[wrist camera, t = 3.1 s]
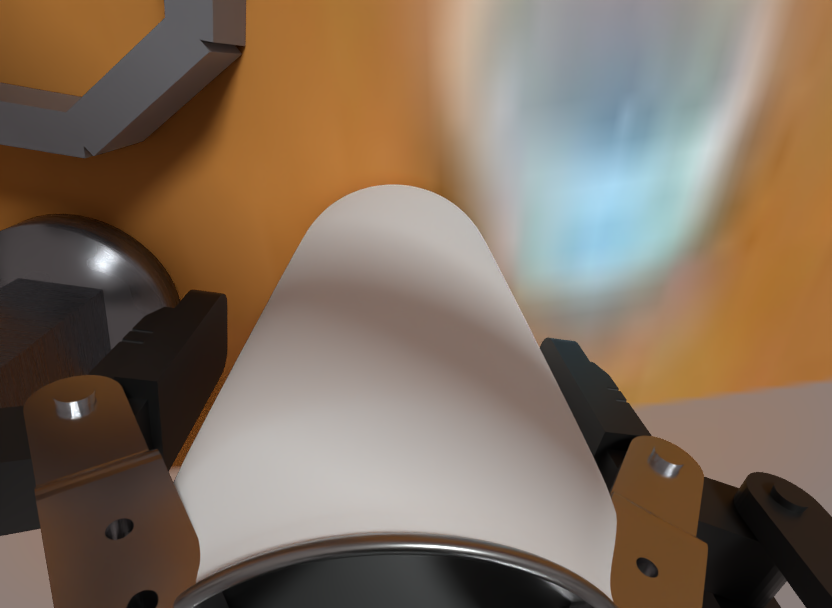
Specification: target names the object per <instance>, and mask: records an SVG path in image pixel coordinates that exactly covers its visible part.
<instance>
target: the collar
mask: <svg viewBox="0 0 832 608" xmlns="http://www.w3.org/2000/svg"><path fill="white" fill-rule="evenodd" d="M164 4H165V18H164V19H163V20H162V21H161V22H160V23H159V24H158V25H157V26H156V27H155V28H154V29H153V30H152V31H151V32H150V33H149V34H148V35H147V36H145V37H144V38H143V39H142V40H141V41H140V42H139V43H138V44H137V45H136V46H135V47H134V48H133V49H132V50H131V51H130V52H129V53H128V54H127V55H126V56H125V57H123V58H122V59H121V60H120V61H119V62H118V63H117V64H116V65H115V66H114V67H113V68H112V69H111V70H110V71H109V72H108V73H107V74H106V75H105V76H104V77H103V78H101V79H100V80H99V81H98V82H97V83H96V84H95V85H94V86H93V87H92V88H91V89H90V90H89V91H88V92H87V93H86V94H85V95H84V96H83V97H78V96H72V95H67V94H61V93H56V92H50V91H44V90H39V89H33V88H28V87H22V86H16V85H11V84H5V83H0V144H1V145H7V146H13V147H19V148H25V149H31V150H38V151H44V152H50V153H56V154H62V155H68V156H74V157H80V158H88V157H91V156H96V155H99V154H103V153H106V152H109V151H113V150H116V149H119V148H122V147H126V146H129V145H132V144H136V143H139V142H142V141H144V140H145V139H146V138H147V137H148V136H150V135H151V134H152V133H153V132H154V131H155V130H156V129H158V128H159V127H160V126H161V125H162V124H163V123H164V122H166V121H167V120H168V119H169V118H170V117H171V116H172V115H173V114H175V113H176V112H177V111H178V110H179V109H180V108H181V107H183V106H184V105H185V104H186V103H187V102H188V101H189V100H190V99H192V98H193V97H194V96H195V95H196V94H197V93H198V92H200V91H201V90H202V89H203V88H204V87H205V86H206V85H207V84H209V83H210V82H211V81H212V80H213V79H214V78H215V77H217V76H218V75H219V74H220V73H221V72H222V71H223V70H225V69H226V68H227V67H228V66H229V65H230V64H231V63H232V62H234V61H235V60H236V59H237V58H238V57H239V56H240V55H242V53H241V52H240V51H239V50H238V48H237V47H236V46H235V45H240V46H245V35H246V0H164Z"/></svg>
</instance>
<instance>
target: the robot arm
mask: <svg viewBox="0 0 832 608" xmlns="http://www.w3.org/2000/svg"><path fill="white" fill-rule="evenodd" d="M540 350H541V352H542V354H543V356H544V358H545V360H546V362H547V364H548V366H549V368H550V370H551V372H552V374H553V376H554V378H555V380H556V382H557V384H558V386H559V388H560V390H561V392H562V394H563V396H564V398H565V400H566V402H567V404H568V406H569V408H570V410H571V412H572V414H573V416H574V418H575V420H576V422H577V424H578V426H579V428H580V430H581V432H582V434H583V437H584V439H585V441H586V443H587V445H588V447H589V449H590V451H591V453H592V455H593V457H594V459H595V462H596V464H597V466H598V468H599V470H600V473H601V475H602V477H603V479H604V481H605V484H606V486H607V489H608V491H609V494H610V497H611V500H612V503H613V505H614V508H615V512H616V519H617V526H616V538H615V546H614V552H613V558H612V565H611V574H610V589H611V596H612V599H613V602H614V603H615V604H616V605H617V606H618V608H781V607H780V605H779V604H778V602H777V601H776V599H775V598H774V596H775V594H776V593H777V592H778V591H779V590H780V588H781V587H782V586H783V585H784V584H785V582H786V581H788V583H789V584H790V586H791V587H792V588H793V590H794V591H795V593H796V594H797V595H798V597H799V598H800V599H801V601H802V602H803V604H804V605H805V607H806V608H832V517H831V516H830V515H829V513H828V512H827V511H826V510H825V509H824V508H823V507H822V506H821V505H820V504H819V503H818V502H817V501H816V500H815V499H814V498H813V497H812V496H810V495H809V494H808V493H806V492H805V491H803V490H802V489H801V488H799V487H797V486H796V485H794V484H792V483H791V482H789V481H787V480H785V479H783V478H780V477H778V476H775V475H771V474H768V473H763V472H756V473H755V472H754V473H751V474H749V475H748V476H747V478H746V479H745V481H744V482H743V484H742V485H741V487H740V488H737V487H734V486H731V485H727V484H724V483H722V482H718V481H716V480H713V479H709V478H707V477H704V474H703V471H702V469H701V467H700V466H699V465H698V463H697V462H696V461H695V460H694V459H693V458H692V457H691V456H690V455H689V454H688V453H687V452H685V451H684V450H682V449H681V448H679V447H678V446H676V445H674V444H672V443H671V442H668V441H666V440H664V439H661V438H657V437H653V436H651V434H650V433H649V431H648V430H647V429H646V427H645V426H644V424H643V423H642V421H641V420H640V419H639V417H638V416H637V414H636V413H635V411H634V410H633V409H632V407H631V406H630V404H629V403H626V399H625V397H624V396H623V394H622V393H621V391H618V387H617V386H616V384H615V383H614V381H613V380H612V379H611V377H610V376H609V375H608V374H607V373H606V372H605V371H603V370H602V369H601V368H600V367H598V366H597V365H596V364H595V363H593V362H590V361H589V360H588V358H587V357H586V355H585V354H584V352H583V351H582V349H581V348H580V346H579V345H578V343H577V342H575V341H569V340H561V339H554V338H546V339H545V340H544V341H543V342H542V344H541V346H540ZM226 357H227V298H226V295H225V294H222V293H214V292H207V291H199V290H190V291H189V292H188V293H187V294H186V295H185V297H184V298H183V299H182V300H181V301H180V302H179V303H178V304H177V306H176V307H175V308H172V307H162V308H160V309H158V310H156V311H154V312H152V313H150V314H148V315H146V316H144V317H143V318H142V319H141V320H140V321H139V322H138V323H137V324H136V325H135V326H134V327H133V328H132V331H129V332H128V333H127V334H126V336H125V337H124V338H123V339H122V342H119V343H118V344H117V345H116V346H115V347H114V348H113V349H112V350H111V351H110V352H109V353H108V354H107V355H106V356H105V357H104V358H103V359H102V360H101V361H100V362H99V363H98V364H97V365H96V366H95V367H94V368H93V369H92V370H91V371H90V372H89V373H88V374H87V375H81V376H74V377H68V378H65V379H61V380H58V381H55V382H52V383H50V384H48V385H46V386H44V387H42V388H40V389H39V390H37V391H36V392H35V393H33V394H32V395H31V396H30V397H29V398H28V399H27V401H26V402H25V405H23V406H15V407H5V408H0V536H2V535H8V534H13V533H19V532H24V531H30V530H35V529H41V533H42V539H43V545H44V551H45V557H46V563H47V569H48V574H49V580H50V587H51V592H52V599H53V604H54V608H174V606H173V605H174V601H175V599H176V598H177V597H178V596H179V595H180V594H181V593H183V592H184V591H185V590H187V589H188V588H190V587H191V586H193V585H194V584H196V579H197V574H198V569H199V565H200V546H199V540H198V537H197V535H196V532H195V530H194V528H193V526H192V523H191V521H190V519H189V517H188V514H187V512H186V510H185V508H184V505H183V503H182V501H181V499H180V496H179V494H178V492H177V490H176V488H175V485H174V483H173V481H172V479H171V476H170V474H169V470H170V468H171V466H172V464H173V463H174V461H175V459H176V457H177V455H178V453H179V452H180V450H181V448H182V446H183V444H184V442H185V441H186V439H187V437H188V435H189V433H190V431H191V430H192V428H193V426H194V424H195V422H196V420H197V419H198V417H199V415H200V413H201V411H202V409H203V408H204V406H205V404H206V402H207V400H208V398H209V397H210V395H211V393H212V391H213V389H214V388H215V386H216V384H217V382H218V380H219V378H220V377H221V375H222V372H223V370H224V366H225V362H226ZM193 608H229V606H228V604H227V602H226V600H225V597H224V595H223V593H222V592H220V593H218V594H216V595H214V596H212V597H210V598H208V599H207V600H205V601H203V602H201V603H200V604H198V605H197V606H195V607H193ZM569 608H594V607H593V606H592V605H590V604H589V603H588V602H586V601H577V602H576V601H572V602H571V604H570V606H569Z"/></svg>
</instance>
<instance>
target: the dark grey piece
mask: <svg viewBox="0 0 832 608" xmlns="http://www.w3.org/2000/svg"><path fill="white" fill-rule="evenodd" d="M179 302H180V299H179V296H178V292H177V290H176V288H175V285H174V283H173V281H172V279H171V278H170V276H169V274H168V272H167V271H166V270H165V268H164V267H163V266H162V264H161V263H160V262H159V261H158V259H157V258H156V257H155V256H154V255H153V254H152V253H151V252H150V251H149V250H148V249H146V248H145V247H144V246H143V245H142V244H141V243H139V242H138V241H137V240H135V239H134V238H132V237H131V236H129V235H128V234H126V233H124V232H123V231H121V230H119V229H117V228H115V227H113V226H111V225H108V224H106V223H104V222H101V221H98V220H95V219H91V218H87V217H83V216H78V215H69V214H49V215H43V216H37V217H34V218H31V219H28V220H25V221H23V222H21V223H18V224H16V225H13V226H11V227H9V228H6V229H4V230H2V231H0V408H5V407H15V406H23V405H25V402H26V401H27V399H28V398H29V397H30V396H31V395H32V394H33V393H35V392H36V391H37V390H39V389H40V388H42V387H44V386H46V385H48V384H50V383H52V382H55V381H58V380H61V379H65V378H68V377H74V376H81V375H87V374H88V373H89V372H90V371H91V370H92V369H93V368H94V367H95V366H96V365H97V364H98V363H99V362H100V361H101V360H102V359H103V358H104V357H105V356H106V355H107V354H108V353H109V352H110V351H111V350H112V349H113V348H114V347H115V346H116V345H117V344H118V343H119V342H122V339H123V338H124V337H125V336H126V334H127V333H128V332H129V331H132V328H133V327H134V326H135V325H136V324H137V323H138V322H139V321H140V320H141V319H142V318H143V317H144V316H146V315H148V314H150V313H152V312H154V311H156V310H158V309H160V308H162V307H172V308H175V307H176V306H177V304H178V303H179Z"/></svg>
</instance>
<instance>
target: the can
mask: <svg viewBox="0 0 832 608" xmlns="http://www.w3.org/2000/svg"><path fill="white" fill-rule="evenodd" d="M173 483H174V485H175V488H176V490H177V492H178V494H179V496H180V499H181V501H182V503H183V505H184V508H185V510H186V512H187V514H188V517H189V519H190V521H191V523H192V526H193V528H194V530H195V532H196V535H197V537H198V540H199V546H200V565H199V569H198V574H197V579H196V584H194V585H193V586H191V587H190V588H188V589H187V590H185V591H184V592H183V593H181V594H180V595H179V596H178V597H177V598H176V599H175V601H174V605H173V606H174V608H193V607H195V606H197V605H198V604H200V603H201V602H203V601H205V600H207V599H208V598H210V597H212V596H214V595H216V594H218V593H220V592H222V593H223V595H224V597H225V600H226V602H227V604H228V606H229V608H569V606H570V604H571V602H572V601H576V602H577V601H586V602H588V603H589V604H590V605H592V606H593V607H594V608H618V606H617V605H616V604H615V603H614V602H613V599H612V596H611V589H610V574H611V565H612V558H613V552H614V546H615V538H616V526H617V519H616V512H615V508H614V505H613V503H612V500H611V497H610V494H609V491H608V489H607V486H606V484H605V481H604V479H603V477H602V475H601V473H600V470H599V468H598V466H597V464H596V462H595V459H594V457H593V455H592V453H591V451H590V449H589V447H588V445H587V443H586V441H585V439H584V437H583V434H582V432H581V430H580V428H579V426H578V424H577V422H576V420H575V418H574V416H573V414H572V412H571V410H570V408H569V406H568V404H567V402H566V400H565V398H564V396H563V394H562V392H561V390H560V388H559V386H558V384H557V382H556V380H555V378H554V376H553V374H552V372H551V370H550V368H549V366H548V364H547V362H546V360H545V358H544V356H543V354H542V352H541V350H540V348H539V346H538V344H537V342H536V340H535V338H534V336H533V334H532V332H531V330H530V328H529V326H528V324H527V322H526V320H525V318H524V316H523V314H522V312H521V310H520V308H519V306H518V304H517V302H516V300H515V298H514V296H513V294H512V292H511V290H510V288H509V286H508V284H507V283H506V281H505V279H504V277H503V275H502V273H501V271H500V269H499V267H498V265H497V263H496V261H495V259H494V257H493V255H492V253H491V251H490V250H489V248H488V246H487V244H486V242H485V240H484V239H483V237H482V235H481V233H480V232H479V230H478V229H477V227H476V226H475V224H474V223H473V222H472V221H471V220H470V218H469V217H468V216H467V215H466V214H465V213H464V212H463V211H462V210H461V209H459V208H458V207H457V206H456V205H454V204H453V203H452V202H450V201H449V200H447V199H445V198H444V197H442V196H440V195H438V194H435V193H433V192H431V191H428V190H425V189H421V188H418V187H413V186H407V185H379V186H373V187H368V188H365V189H361V190H358V191H356V192H353V193H351V194H349V195H347V196H345V197H343V198H341V199H339V200H338V201H336V202H335V203H333V204H332V205H331V206H329V207H328V208H327V209H326V210H325V211H324V212H322V213H321V214H320V216H319V217H318V218H317V219H316V220H315V221H314V222H313V224H312V225H311V226H310V228H309V229H308V231H307V232H306V234H305V236H304V237H303V239H302V241H301V243H300V244H299V246H298V248H297V250H296V251H295V253H294V255H293V257H292V259H291V260H290V262H289V264H288V266H287V268H286V270H285V271H284V273H283V275H282V277H281V279H280V281H279V282H278V284H277V286H276V288H275V290H274V292H273V293H272V295H271V297H270V299H269V301H268V303H267V305H266V306H265V308H264V310H263V312H262V314H261V316H260V318H259V319H258V321H257V323H256V325H255V327H254V329H253V331H252V332H251V334H250V336H249V338H248V340H247V342H246V344H245V345H244V347H243V349H242V351H241V353H240V355H239V357H238V359H237V360H236V362H235V364H234V366H233V368H232V370H231V372H230V374H229V376H228V377H227V379H226V381H225V383H224V385H223V387H222V389H221V391H220V392H219V394H218V396H217V398H216V400H215V402H214V404H213V406H212V408H211V409H210V411H209V413H208V415H207V417H206V419H205V421H204V423H203V425H202V427H201V429H200V431H199V432H198V434H197V436H196V438H195V440H194V442H193V444H192V446H191V448H190V450H189V452H188V454H187V456H186V458H185V460H184V462H183V464H182V466H181V468H180V470H179V472H178V474H177V476H176V478H175V480H174V482H173Z"/></svg>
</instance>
